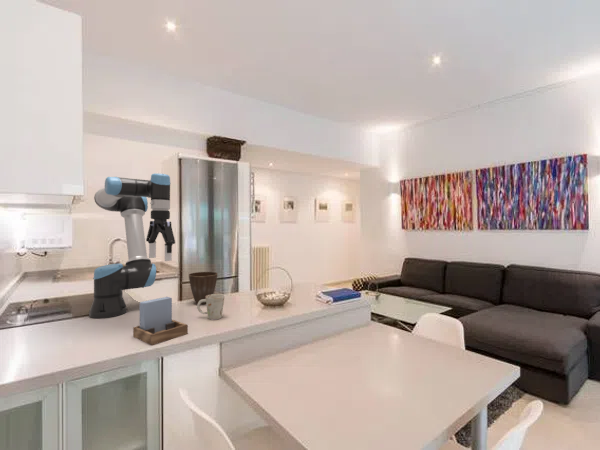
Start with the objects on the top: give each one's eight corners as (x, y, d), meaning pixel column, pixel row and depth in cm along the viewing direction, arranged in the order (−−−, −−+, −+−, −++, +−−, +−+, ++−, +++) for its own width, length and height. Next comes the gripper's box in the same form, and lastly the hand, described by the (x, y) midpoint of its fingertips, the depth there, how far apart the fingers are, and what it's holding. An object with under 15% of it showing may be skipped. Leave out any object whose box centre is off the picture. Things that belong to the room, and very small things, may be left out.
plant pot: (221, 300, 169) (221, 271, 169) (210, 307, 155) (210, 276, 155) (196, 299, 171) (196, 271, 171) (183, 306, 157) (183, 275, 157)
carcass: (133, 336, 114) (133, 327, 114) (168, 326, 125) (168, 318, 125) (151, 345, 105) (151, 335, 105) (187, 333, 116) (187, 324, 116)
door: (139, 333, 114) (139, 302, 114) (167, 326, 123) (167, 296, 123) (144, 335, 112) (144, 303, 112) (171, 327, 120) (171, 297, 121)
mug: (221, 320, 133) (221, 298, 133) (193, 320, 133) (193, 298, 133) (226, 315, 141) (226, 293, 141) (200, 315, 141) (199, 293, 141)
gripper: (138, 209, 134) (137, 257, 134) (166, 209, 118) (166, 263, 119) (154, 210, 140) (154, 255, 140) (184, 210, 124) (183, 261, 125)
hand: (159, 259), depth 129 cm, fingers open, 13 cm apart
